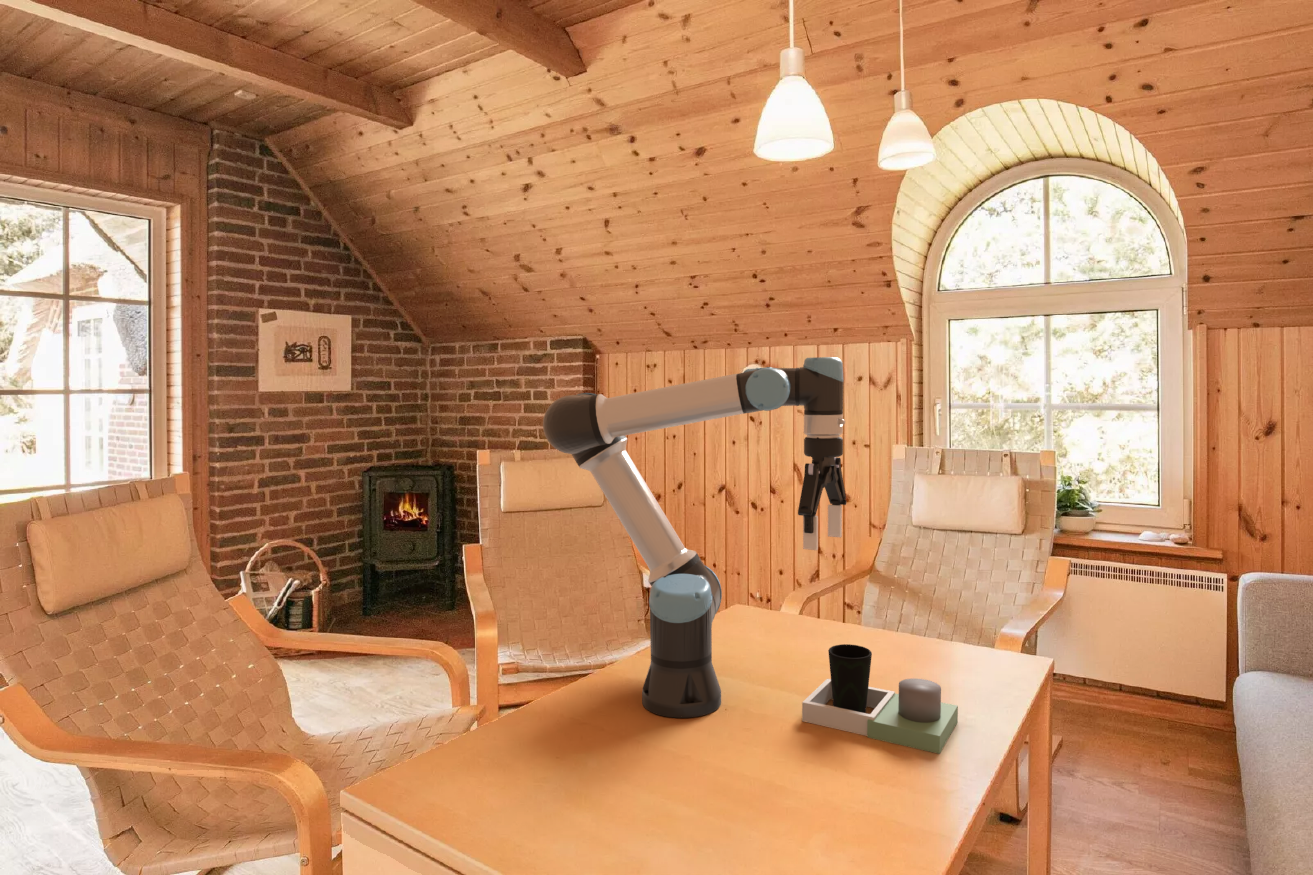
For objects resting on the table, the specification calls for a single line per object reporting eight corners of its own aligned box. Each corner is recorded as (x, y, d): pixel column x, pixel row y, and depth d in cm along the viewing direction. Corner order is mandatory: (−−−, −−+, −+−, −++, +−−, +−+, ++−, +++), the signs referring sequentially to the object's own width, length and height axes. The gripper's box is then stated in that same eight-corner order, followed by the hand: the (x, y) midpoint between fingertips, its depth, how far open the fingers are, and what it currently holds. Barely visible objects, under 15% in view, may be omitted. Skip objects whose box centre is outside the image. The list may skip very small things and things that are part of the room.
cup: (872, 725, 143) (873, 659, 142) (828, 722, 145) (828, 657, 144) (869, 708, 151) (870, 645, 150) (827, 705, 152) (828, 643, 151)
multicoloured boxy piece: (801, 722, 145) (801, 678, 144) (828, 695, 157) (828, 655, 156) (939, 753, 132) (940, 706, 132) (957, 721, 144) (958, 678, 144)
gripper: (819, 441, 146) (818, 557, 148) (862, 432, 167) (861, 533, 169) (780, 440, 150) (780, 553, 152) (827, 431, 171) (826, 530, 173)
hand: (823, 543), depth 160 cm, fingers open, 13 cm apart
